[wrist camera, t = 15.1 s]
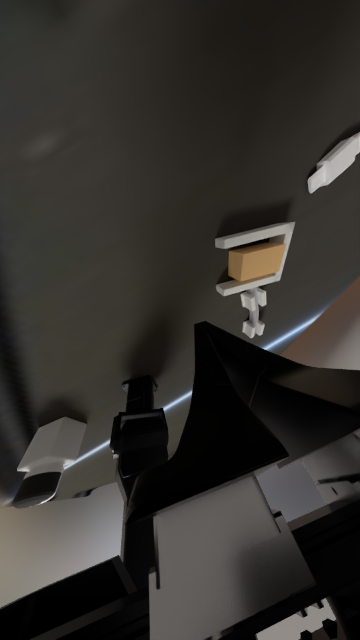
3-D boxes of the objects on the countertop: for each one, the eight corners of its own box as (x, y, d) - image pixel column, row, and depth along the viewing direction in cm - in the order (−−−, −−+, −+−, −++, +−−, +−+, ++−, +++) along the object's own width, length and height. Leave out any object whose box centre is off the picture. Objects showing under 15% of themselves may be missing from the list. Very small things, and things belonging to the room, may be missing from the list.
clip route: (254, 329, 30) (262, 336, 28) (236, 335, 29) (243, 342, 27) (265, 277, 23) (276, 281, 21) (241, 283, 22) (250, 288, 20)
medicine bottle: (38, 427, 31) (-9, 515, 22) (65, 415, 31) (30, 498, 21) (63, 434, 35) (34, 510, 26) (87, 423, 35) (66, 496, 26)
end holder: (267, 275, 23) (279, 280, 21) (216, 290, 22) (223, 296, 20) (278, 223, 18) (295, 221, 16) (215, 238, 18) (224, 239, 16)
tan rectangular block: (261, 266, 22) (279, 271, 19) (227, 275, 21) (240, 281, 18) (265, 242, 20) (286, 243, 17) (228, 251, 19) (243, 254, 16)
